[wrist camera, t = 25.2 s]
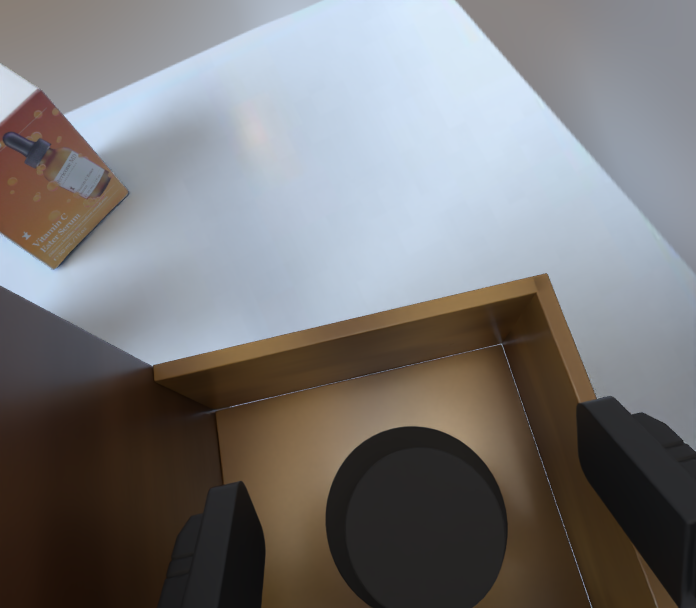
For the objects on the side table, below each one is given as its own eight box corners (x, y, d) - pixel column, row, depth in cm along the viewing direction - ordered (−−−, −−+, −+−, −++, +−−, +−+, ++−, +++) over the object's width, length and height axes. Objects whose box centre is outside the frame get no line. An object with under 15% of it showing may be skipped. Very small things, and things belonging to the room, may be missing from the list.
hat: (474, 411, 21) (514, 365, 14) (530, 596, 19) (616, 662, 11) (312, 448, 21) (266, 422, 14) (346, 638, 19) (313, 729, 11)
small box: (55, 273, 36) (-72, 189, 26) (7, 234, 38) (-130, 142, 28) (132, 191, 38) (41, 86, 28) (83, 158, 40) (-20, 47, 30)
